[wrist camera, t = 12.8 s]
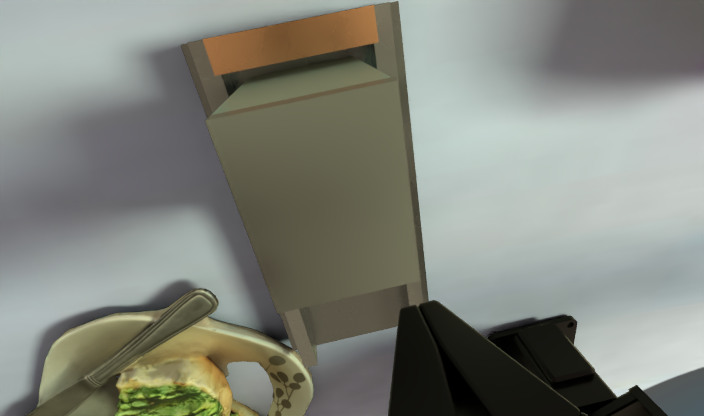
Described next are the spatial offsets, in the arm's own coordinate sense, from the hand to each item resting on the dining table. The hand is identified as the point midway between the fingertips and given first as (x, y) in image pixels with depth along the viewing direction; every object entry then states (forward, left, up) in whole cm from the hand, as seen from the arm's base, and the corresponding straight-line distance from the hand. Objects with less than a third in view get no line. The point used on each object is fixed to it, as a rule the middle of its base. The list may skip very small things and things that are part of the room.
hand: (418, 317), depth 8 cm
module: (+2, +2, -11) cm, 11 cm away
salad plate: (-15, +15, -12) cm, 25 cm away
